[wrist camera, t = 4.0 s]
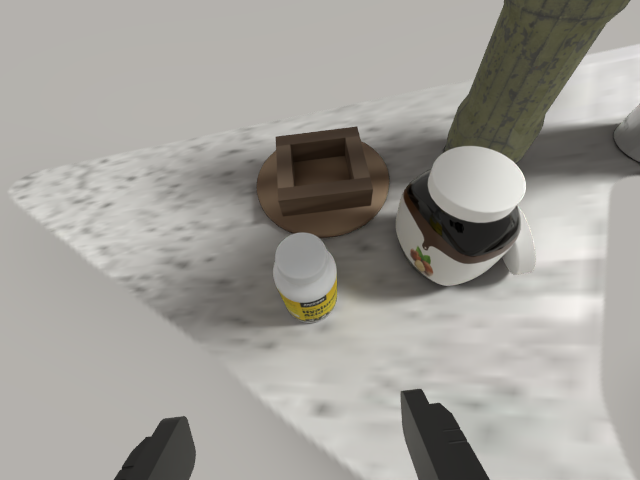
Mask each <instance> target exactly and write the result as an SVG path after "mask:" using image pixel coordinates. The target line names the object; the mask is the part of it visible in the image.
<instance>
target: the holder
mask: <svg viewBox="0 0 640 480" xmlns="http://www.w3.org/2000/svg"><path fill="white" fill-rule="evenodd" d="M388 189H389V174H388V170H387V167H386V165H385V163H384V161H383V159H382V158H381V157H380V155H379V154H378V153H377V152H376V151H375V150H374V149H373V148H371V147H370V146H368V145H367V144H365V143H363V142H362V141H361V140H360V136H359V132H358V128H357V127H350V128H342V129H334V130H326V131H318V132H310V133H302V134H294V135H286V136H278V137H276V151H275V152H274V153H273V154H272V155H271V156H270V157H269V158H268V159H267V160H266V161H265V163H264V164H263V166H262V168H261V170H260V172H259V175H258V179H257V194H258V198H259V201H260V204H261V206H262V208H263V210H264V212H265V213H266V215H267V216H268V217H269V218H270V219H271V220H272V221H273V222H274V223H275V224H277V225H278V226H279V227H281V228H283V229H284V230H286V231H289V232H291V233H293V234H295V233H310V234H313V235H315V236H317V237H318V238H327V237H335V236H340V235H343V234H347V233H350V232H352V231H354V230H357V229H358V228H360V227H362V226H364V225H365V224H366V223H368V222H369V221H370V220H372V219H373V218H374V217H375V216H376V215H377V213H378V212H379V211H380V209H381V208H382V206H383V204H384V202H385V200H386V197H387V194H388Z"/></svg>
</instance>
